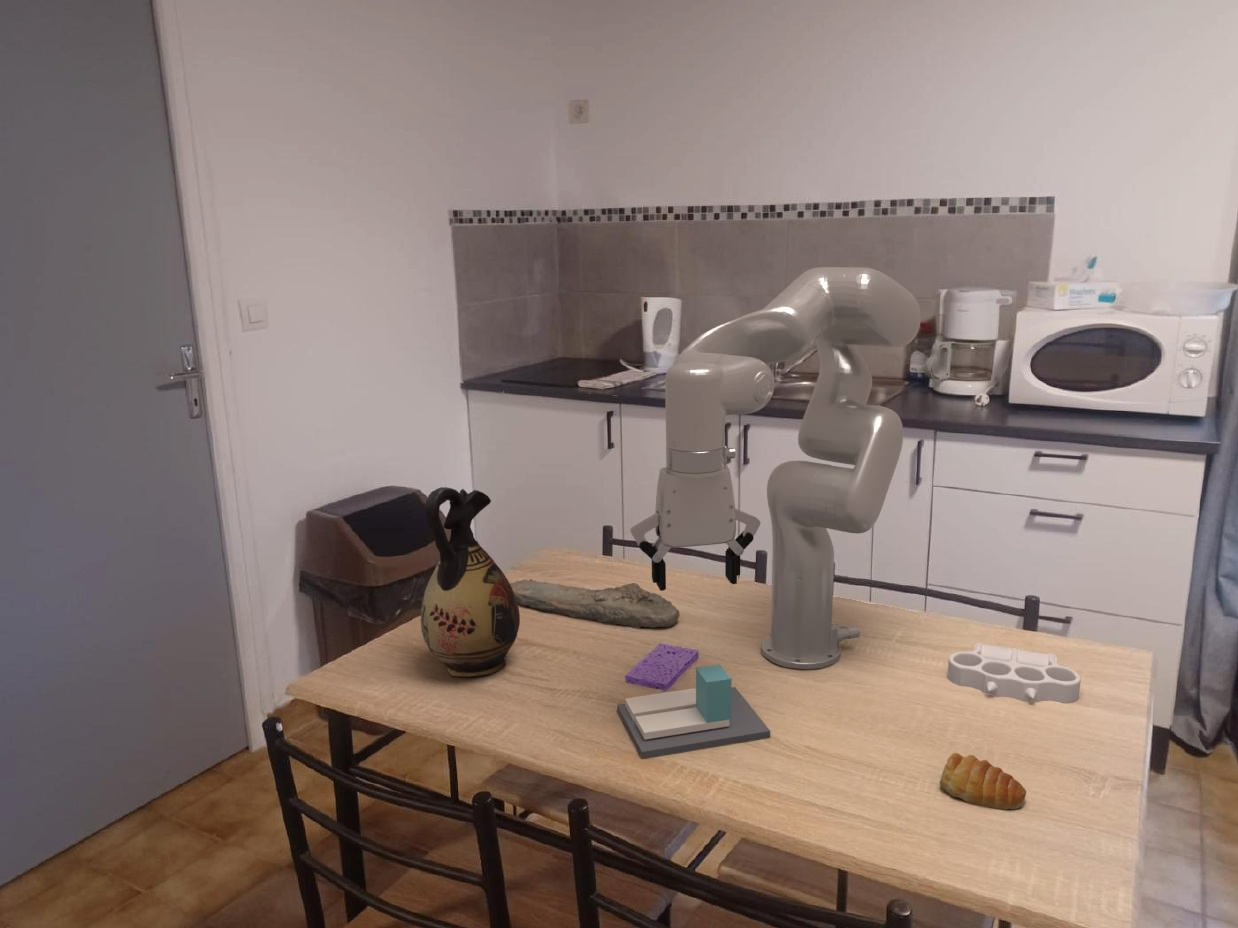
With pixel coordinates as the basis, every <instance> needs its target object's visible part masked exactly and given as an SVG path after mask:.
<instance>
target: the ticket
mask: <svg viewBox="0 0 1238 928" xmlns="http://www.w3.org/2000/svg"><path fill="white" fill-rule="evenodd" d="M624 703H625V707H626V708H627V710H628V712H629V714H630V716H631V718H632V720H633V721H635V717H637V716H644V715H650V714H657V713H663V712H670V711H676V710H683V709H689V708H695V707H696V687H694V688H688V689H681V690H676V691H673V690H672V691H665V692H660V693H654V694H646V695H640V696H634V697H628V698H624Z"/></svg>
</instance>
